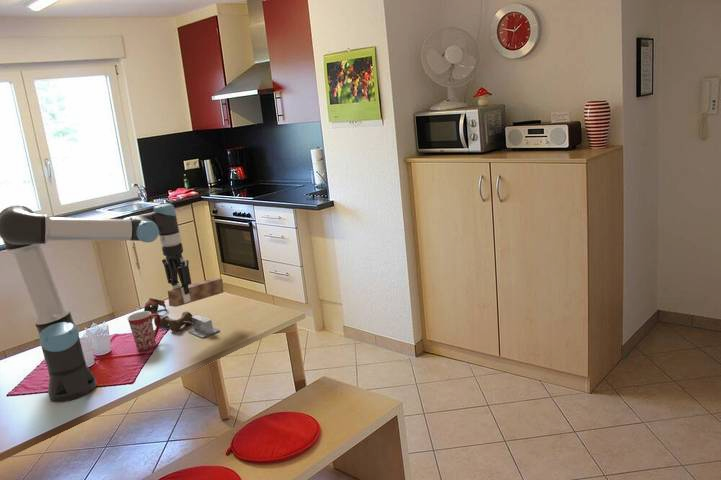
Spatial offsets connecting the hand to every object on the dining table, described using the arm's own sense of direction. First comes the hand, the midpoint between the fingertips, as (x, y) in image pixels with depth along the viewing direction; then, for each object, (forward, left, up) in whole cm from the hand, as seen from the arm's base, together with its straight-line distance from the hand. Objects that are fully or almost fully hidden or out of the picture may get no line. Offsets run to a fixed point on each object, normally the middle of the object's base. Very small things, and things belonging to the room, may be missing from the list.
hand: (183, 300), depth 233 cm
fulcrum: (+7, +3, -17) cm, 18 cm away
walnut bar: (+6, +1, -2) cm, 7 cm away
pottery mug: (+6, +46, -17) cm, 49 cm away
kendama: (+3, +20, -17) cm, 26 cm away
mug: (-12, +11, -17) cm, 24 cm away
